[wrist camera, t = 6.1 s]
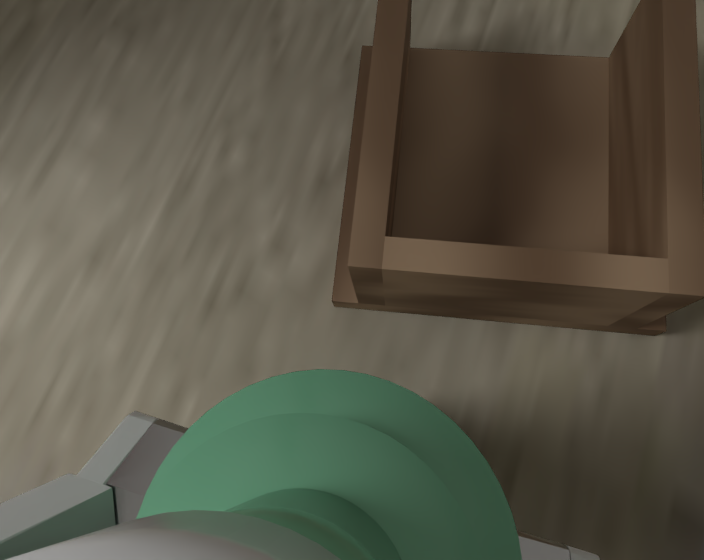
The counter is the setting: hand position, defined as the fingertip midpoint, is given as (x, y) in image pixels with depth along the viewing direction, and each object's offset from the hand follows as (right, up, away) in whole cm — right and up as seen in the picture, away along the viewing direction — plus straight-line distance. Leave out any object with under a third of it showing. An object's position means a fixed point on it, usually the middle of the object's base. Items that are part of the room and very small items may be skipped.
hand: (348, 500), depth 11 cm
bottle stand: (+6, +8, +13) cm, 17 cm away
